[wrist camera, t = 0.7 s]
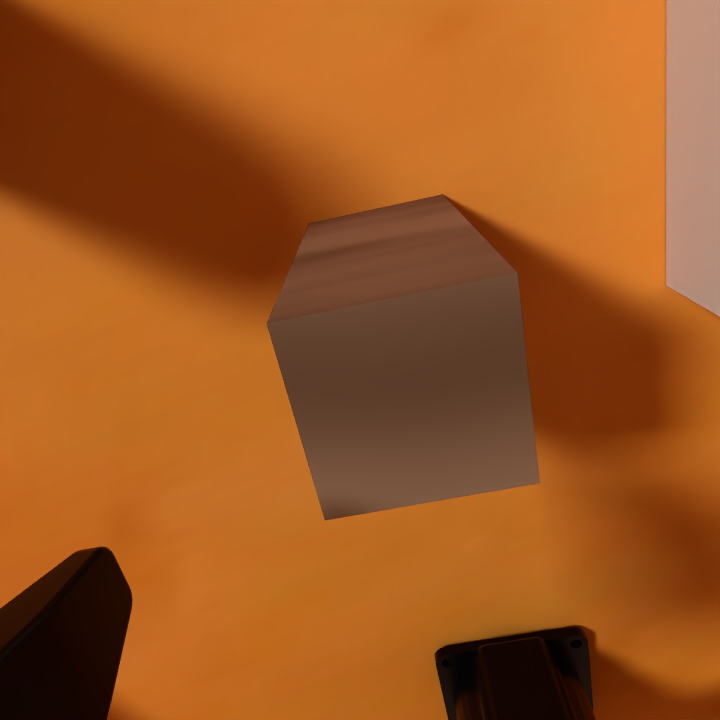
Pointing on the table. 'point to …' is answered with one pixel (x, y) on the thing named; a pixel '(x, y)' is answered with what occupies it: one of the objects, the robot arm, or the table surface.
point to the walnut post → (405, 360)
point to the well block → (693, 151)
